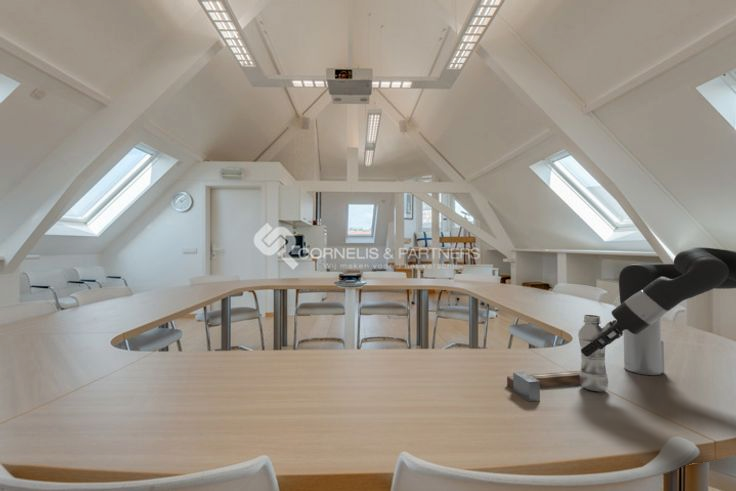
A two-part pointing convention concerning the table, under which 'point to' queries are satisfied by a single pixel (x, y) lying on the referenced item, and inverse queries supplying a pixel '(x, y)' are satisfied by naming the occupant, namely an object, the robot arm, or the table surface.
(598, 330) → the plastic bottle
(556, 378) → the walnut rail
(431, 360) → the table surface
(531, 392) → the metal end stop
